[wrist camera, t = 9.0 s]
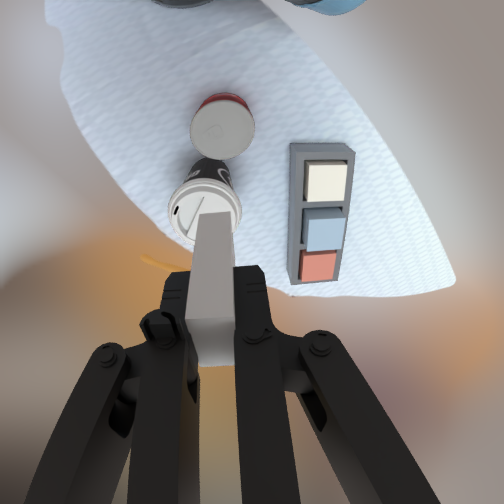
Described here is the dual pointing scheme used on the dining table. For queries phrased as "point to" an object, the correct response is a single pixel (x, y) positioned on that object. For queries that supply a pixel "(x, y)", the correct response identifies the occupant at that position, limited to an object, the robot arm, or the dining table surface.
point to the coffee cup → (203, 198)
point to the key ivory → (324, 180)
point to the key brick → (316, 265)
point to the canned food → (222, 127)
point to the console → (299, 202)
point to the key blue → (323, 228)
